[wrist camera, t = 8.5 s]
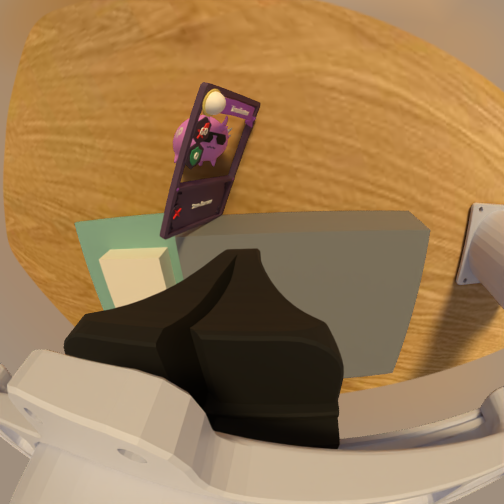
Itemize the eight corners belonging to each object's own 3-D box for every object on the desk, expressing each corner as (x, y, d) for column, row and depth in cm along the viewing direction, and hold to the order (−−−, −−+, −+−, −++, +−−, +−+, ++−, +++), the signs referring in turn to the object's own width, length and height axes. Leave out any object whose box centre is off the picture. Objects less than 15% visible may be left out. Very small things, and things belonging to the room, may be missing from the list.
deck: (408, 210, 20) (430, 229, 16) (382, 344, 26) (392, 372, 22) (192, 216, 22) (174, 236, 18) (217, 348, 28) (209, 378, 24)
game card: (172, 246, 16) (220, 85, 12) (115, 210, 17) (147, 71, 13) (229, 221, 21) (270, 106, 17) (177, 194, 23) (209, 88, 19)
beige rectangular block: (98, 259, 22) (109, 249, 24) (128, 339, 26) (136, 327, 27) (158, 258, 21) (167, 247, 23) (182, 344, 25) (188, 330, 27)
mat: (179, 211, 22) (177, 212, 21) (208, 351, 28) (208, 353, 28) (76, 222, 23) (74, 223, 23) (120, 343, 30) (119, 344, 29)
